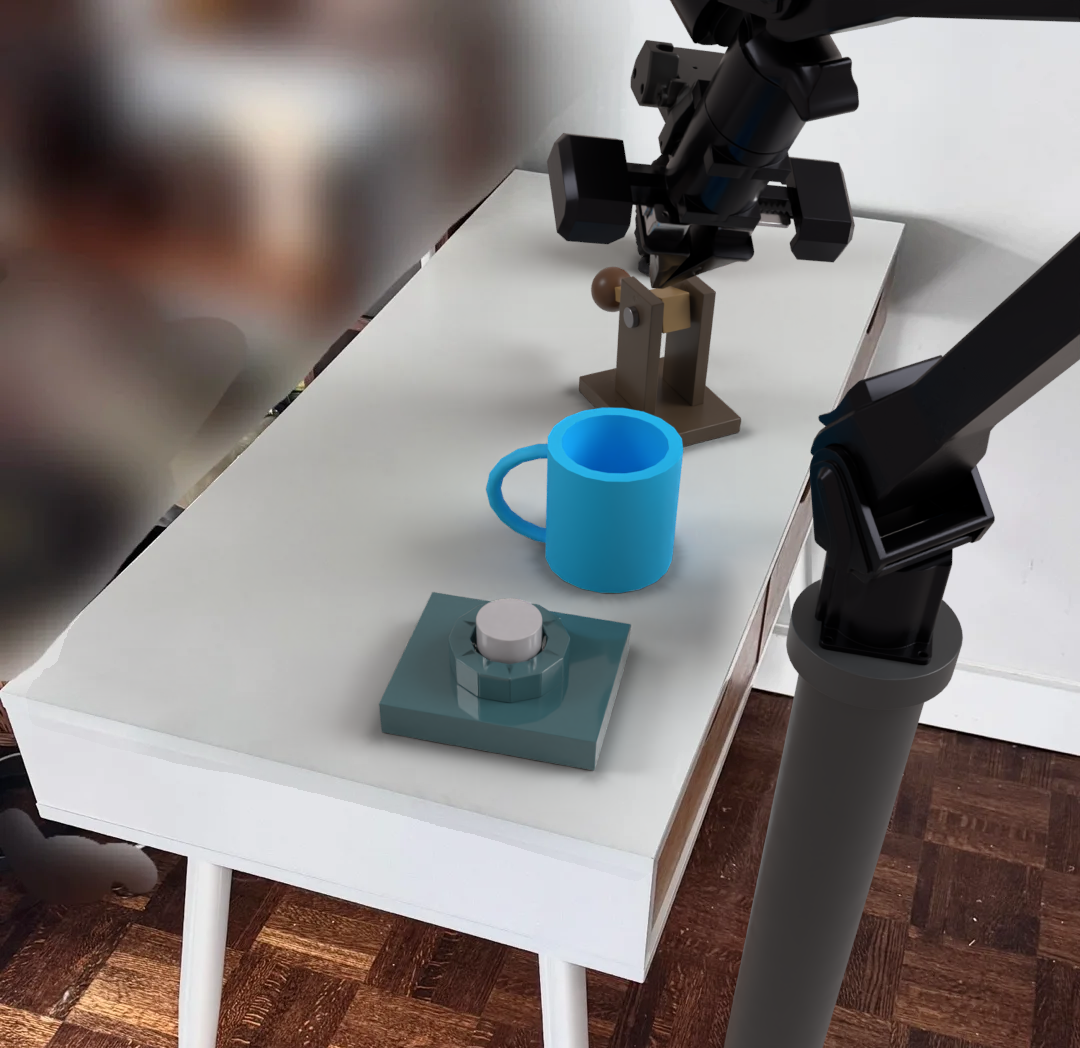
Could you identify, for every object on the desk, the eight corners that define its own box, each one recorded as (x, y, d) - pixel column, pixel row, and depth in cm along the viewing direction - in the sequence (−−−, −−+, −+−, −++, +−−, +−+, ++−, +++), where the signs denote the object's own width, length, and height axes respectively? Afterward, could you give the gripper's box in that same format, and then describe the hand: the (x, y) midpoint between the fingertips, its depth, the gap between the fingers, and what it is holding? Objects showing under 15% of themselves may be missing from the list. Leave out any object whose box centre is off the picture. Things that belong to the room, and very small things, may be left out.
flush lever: (585, 311, 100) (582, 267, 99) (622, 303, 101) (620, 260, 100) (657, 341, 91) (654, 293, 90) (697, 332, 92) (695, 284, 91)
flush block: (629, 652, 78) (633, 599, 76) (594, 771, 71) (597, 717, 69) (433, 619, 80) (430, 566, 77) (381, 732, 73) (375, 679, 70)
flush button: (548, 627, 74) (549, 603, 73) (533, 669, 72) (533, 645, 71) (486, 617, 75) (485, 593, 74) (468, 658, 72) (468, 634, 71)
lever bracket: (578, 390, 100) (582, 265, 93) (671, 368, 102) (682, 245, 95) (642, 457, 93) (652, 328, 86) (740, 432, 96) (757, 305, 89)
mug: (677, 523, 88) (689, 414, 82) (665, 600, 82) (677, 488, 76) (498, 503, 89) (497, 395, 83) (474, 578, 83) (471, 467, 78)
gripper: (873, 17, 79) (763, 193, 93) (575, -25, 74) (507, 168, 88) (909, 173, 76) (790, 330, 90) (601, 141, 71) (525, 314, 85)
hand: (655, 282), depth 88 cm, fingers closed
